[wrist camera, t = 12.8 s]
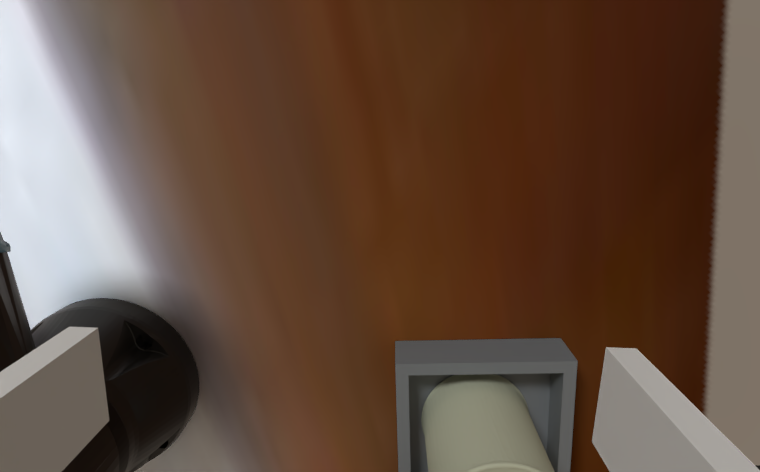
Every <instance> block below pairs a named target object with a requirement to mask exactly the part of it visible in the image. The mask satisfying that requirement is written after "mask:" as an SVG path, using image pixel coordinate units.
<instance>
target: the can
mask: <svg viewBox="0 0 760 472" xmlns="http://www.w3.org/2000/svg"><path fill="white" fill-rule="evenodd" d="M421 423H422V429H423V433H424V436H425V444H426V454H427V464H428V472H555V471H554V469H553V467H552V465H551V462H550V460H549V458H548V456H547V453H546V451H545V449H544V447H543V444H542V442H541V440H540V438H539V435H538V433H537V431H536V429H535V426H534V424H533V422H532V419H531V417H530V415H529V411H528V406H527V403H526V401H525V398H524V397H523V395H522V393H521V392H520V391H519V389H518V388H517V387H516V386H515V385H514V384H513V383H511V382H510V381H509V380H507V379H505V378H504V377H502V376H499V375H497V374H474V375H453V376H451V377H449V378H447V379H445V380H444V381H442V382H441V383H439V384H438V385H437V386H436V387H435V388H434V389H433V390H432V391H431V393H430V394H429V395H428V397H427V399H426V401H425V403H424V406H423V410H422V416H421Z"/></svg>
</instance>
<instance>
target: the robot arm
mask: <svg viewBox="0 0 760 472" xmlns="http://www.w3.org/2000/svg"><path fill="white" fill-rule="evenodd" d="M7 252H10V245H9V244H8V243H7V242H5V241H4V240H3V238H2V235H1V232H0V472H134V471H135V470H137V469H138V468H140V467H141V466H143V465H144V464H146V463H147V462H148V461H150V460H152V459H153V458H155V457H156V456H158V455H159V454H161V453H162V452H164V451H165V450H166V449H167V448H168V447H169V446H170V445H171V444H172V443H173V442H174V441H175V440H176V439H177V438H178V436H179V435H180V433H181V432H182V430H183V429H184V427H185V426H186V425H187V423H188V422H189V420H190V418H191V417H192V415H193V412H194V410H195V407H196V404H197V400H198V395H199V378H198V372H197V368H196V364H195V361H194V359H193V356H192V354H191V352H190V350H189V348H188V347H187V345H186V343H185V342H184V341H183V339H182V338H181V337H180V335H179V334H178V333H177V332H176V331H175V330H174V329H173V328H172V327H171V326H170V325H169V324H168V323H167V322H166V321H164V320H163V319H162V318H160V317H159V316H158V315H156V314H154V313H153V312H151V311H149V310H147V309H145V308H143V307H141V306H139V305H136V304H133V303H130V302H127V301H122V300H117V299H108V298H96V299H87V300H82V301H79V302H75V303H73V304H70V305H68V306H66V307H64V308H62V309H60V310H59V311H57V312H55V313H54V314H52V315H50V316H49V317H47V318H45V319H44V320H42V321H41V322H40V323H38V324H37V325H36V326H35V327H34V328H33V329H32V330H30V327H29V323H28V320H27V317H26V313H25V310H24V307H23V303H22V300H21V297H20V293H19V290H18V287H17V283H16V280H15V277H14V273H13V270H12V267H11V263H10V260H9V257H8V253H7ZM592 442H593V444H594V446H595V448H596V449H597V451H598V453H599V454H600V456H601V458H602V459H603V461H604V463H605V464H606V466H607V468H608V470H609V471H610V472H760V466H755V465H754V464H753V463H752V462H751V461H750V460H749V459H748V458H747V457H746V456H744V454H743V453H742V452H741V451H740V450H739V449H738V448H737V447H736V446H735V445H734V444H733V443H732V442H731V441H730V440H729V439H727V437H726V436H725V435H724V434H723V433H722V432H720V430H718V428H716V427H715V426H714V425H713V424H712V423H711V422H710V421H709V420H708V419H707V418H706V417H705V416H704V415H703V414H702V413H701V412H700V411H699V410H698V409H697V408H696V407H695V406H694V405H693V404H692V403H691V402H690V401H689V400H688V399H687V398H686V397H685V396H684V395H683V394H682V393H681V392H680V391H679V390H678V389H677V388H676V387H675V386H674V385H673V384H672V383H671V382H670V381H669V380H668V379H667V378H666V377H665V376H664V375H663V374H662V373H661V372H660V371H659V370H658V369H657V368H656V367H655V366H654V365H653V364H652V363H651V362H650V361H649V360H648V359H647V358H646V357H645V356H644V355H643V354H642V353H640V352H639V351H638V350H637V349H634V348H608V347H606V351H605V358H604V365H603V371H602V378H601V384H600V391H599V398H598V404H597V411H596V418H595V424H594V431H593V438H592Z"/></svg>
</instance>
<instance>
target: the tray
mask: <svg viewBox="0 0 760 472" xmlns="http://www.w3.org/2000/svg"><path fill="white" fill-rule="evenodd" d="M577 362H578V361H577V360H576V358H575V357H574V356H573V354H572V353H571V352H570V350H569V349H568V347H567V346H566V345H565V343H564V342H563V341H562V339H561V338H541V339H485V340H429V341H395V369H396V403H397V437H398V470H399V472H428V464H427V454H426V444H425V436H424V433H423V429H422V423H421V416H422V410H423V406H424V403H425V401H426V399H427V397H428V395H429V394H430V393H431V391H432V390H433V389H434V388H435V387H436V386H437V385H438V384H439V383H441V382H442V381H444V380H445V379H447V378H449V377H451V376H453V375H474V374H497V375H499V376H502V377H504V378H505V379H507V380H509V381H510V382H511V383H513V384H514V385H515V386H516V387H517V388H518V389H519V391H520V392H521V393H522V395H523V397H524V398H525V401H526V403H527V406H528V411H529V415H530V417H531V419H532V422H533V424H534V426H535V429H536V431H537V433H538V435H539V438H540V440H541V442H542V444H543V447H544V449H545V451H546V453H547V456H548V458H549V460H550V462H551V465H552V467H553V469H554V471H555V472H570V465H571V450H572V435H573V421H574V406H575V391H576V377H577Z"/></svg>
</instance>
